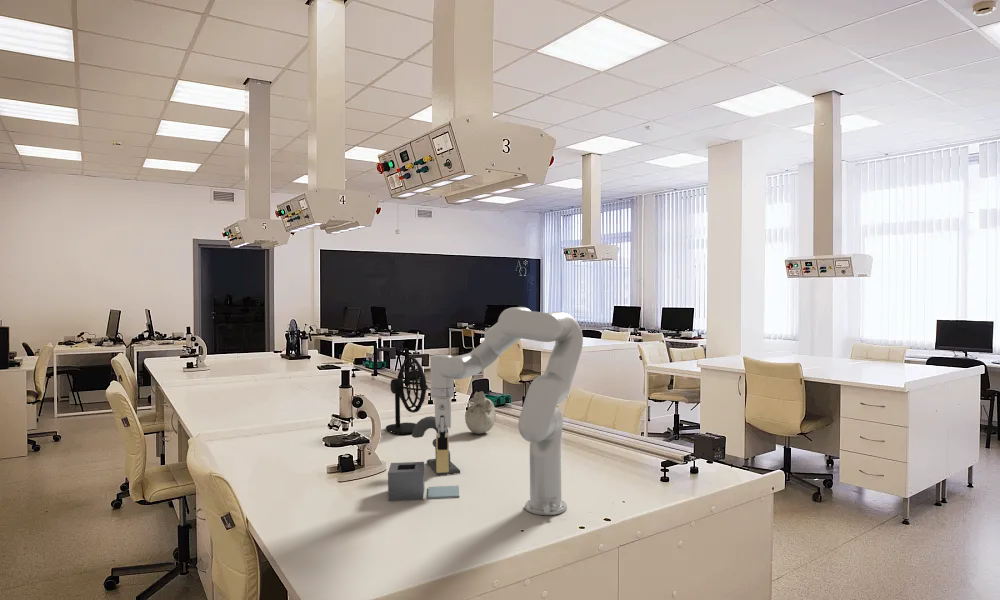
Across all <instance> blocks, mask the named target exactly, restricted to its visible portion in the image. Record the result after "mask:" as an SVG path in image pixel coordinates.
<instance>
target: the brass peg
mask: <svg viewBox="0 0 1000 600" xmlns="http://www.w3.org/2000/svg"><path fill="white" fill-rule="evenodd" d="M435 434H436V436H435V439H436V453H435V459H436V473H443V472H449V451H450V450H449V449H450V446H449V441H450V440H449V438H450V437H449V435H450V434H449V432H448V433H447V450H438V433H437V432H435ZM436 473H435V474H436Z"/></svg>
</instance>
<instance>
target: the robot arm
mask: <svg viewBox="0 0 1000 600" xmlns="http://www.w3.org/2000/svg"><path fill="white" fill-rule="evenodd" d="M582 330H583V329H582V328H581V326H580V324H579V322H578V321H577V320H576V319H575V317H573V316H572V315H571V314H569V313H567V312H563V311H552V312H550V311H549V312H542V311H534V310H533V311H532V310H530V308H528V307H526V306H517V307H516V306H515V307H514V306H513V307H509V308H506V309H504V310H503V311H501V313H500V314H499V316H498V319H497V322H496V323H495V324H493V326H491V327H490V328H488V329H487V330H486V331H485V333H484V340H483V341H482V342H481V343H480V344H479V345H478V346H476V347H475V348H474V349H473V350H471V351H470V352H468V353H464V354H460V355H455V356H453V355H451V354H445V353H440V354H434V355H432V356H431V357H430V398H432V399H434V417H435V422H436V428H437V429H438V450H447V428H448V429H451V427H452V398H454V396H455V393H454V392H455V391H454V385H455V383H454V382H455V381H454V380H464V379H466V378H470V377H474V376H476V375H478V374H479V373H481V372H482V371H484V370H485V369H487V368H488V367H490V365H492V364H493V363H494V362H495V361H496V360H498V359H499V357H500V356H501V355H502V354H503V353H505V352H506V350H508V349H510V348H511V347H512V346H514V345H515V344H516V343H517V342H519V341H520V340H522V339H523V340H528V341H529V340H530V341H536V342H542V343H551V342H554V347H553V349H552V351H551V353H550V355H549V359H548V362H547V365H546V368H545V371H544V373H543V374H541V375H538V376H537V377H535V378H534V379H533V380H532V382H531V383H530V385H529V387H528V389H527V392H526V395H525V398H524V401H523V404H522V407H521V412H520V414H519V418H518V423H517V425H518V432H519V434H520V436H521V437H522V439H524V440H525V441H526V442H529V498H530V499H528V500H527V501H526V502H525V504H524V508H525V510H526V511H528V512H529V513H531V514H534V515H539V516H553V515H554V516H555V515H560V514H562V513H565V511H566V510H567V503H566V502H565V500H562V436H563V426H564V421H563V415H562V412H561V411H560V409H559V408H558V404H560V403H562V402H563V401H565V400H566V399H567V398H568V396H569V394H570V390H571V387H572V384H573V380H574V378H575V374H576V371H577V368H578V367H577V366H578V363H579V360H580V357H581V353H582V350H583V345H584V335H583V331H582Z"/></svg>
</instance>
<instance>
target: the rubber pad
mask: <svg viewBox="0 0 1000 600" xmlns="http://www.w3.org/2000/svg"><path fill="white" fill-rule="evenodd" d="M427 492H428V493H427V499H428V500H430V499H432V500H433V499H450V497H457V498H460V485H443V486H442V485H441V486H439V485H437V486H428V491H427Z"/></svg>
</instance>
